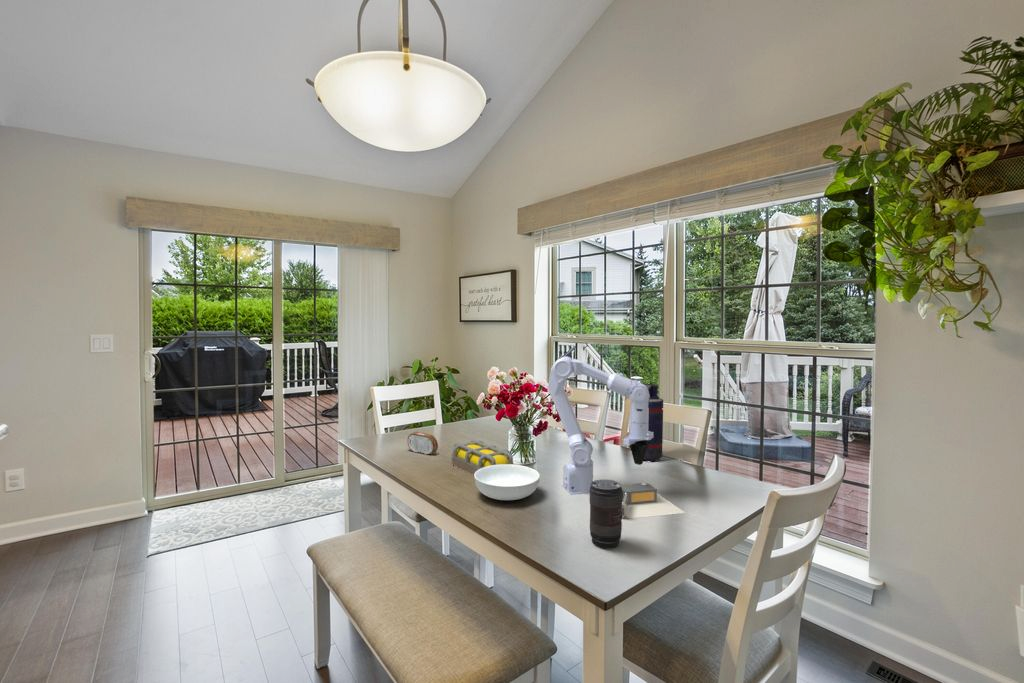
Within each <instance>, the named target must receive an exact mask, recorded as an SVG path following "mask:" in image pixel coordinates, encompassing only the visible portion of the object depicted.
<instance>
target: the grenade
mask: <svg viewBox="0 0 1024 683" xmlns="http://www.w3.org/2000/svg"><path fill="white" fill-rule="evenodd" d="M643 384H644V385H645V386H646V387H647V388H648V391H649V395H650V398H649V400H648V408H649V419H648V431H650V432H654V433H653V438H651V440H646V441H648V442H650V445H649V447H648V448H647V450H646V453H645V456H644V460H645V462H646V461H652V462H653V461H654V460H655V461H656V460H661V459H662V458H663V440H664V439H663V435H664V433H663V432H664V399H663V398H660V396H658V389H659V386H658V385H657V384H650V383H649V384H647V383H643ZM660 458H661V459H660Z"/></svg>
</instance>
